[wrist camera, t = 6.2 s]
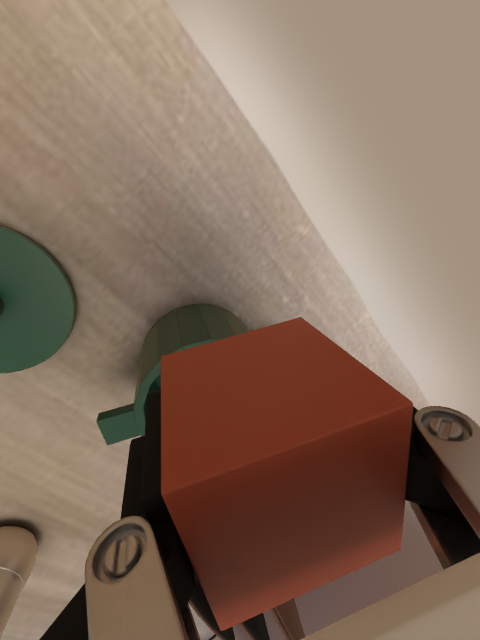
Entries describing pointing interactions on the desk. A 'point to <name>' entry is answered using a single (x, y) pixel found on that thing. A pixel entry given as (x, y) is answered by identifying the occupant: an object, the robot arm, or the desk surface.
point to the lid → (31, 303)
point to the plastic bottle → (14, 566)
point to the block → (280, 464)
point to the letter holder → (254, 626)
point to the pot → (163, 339)
